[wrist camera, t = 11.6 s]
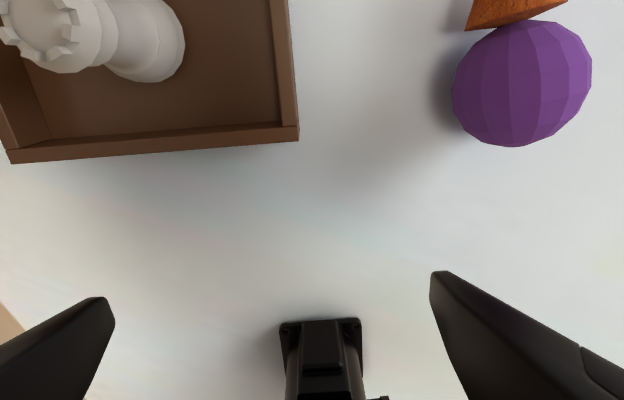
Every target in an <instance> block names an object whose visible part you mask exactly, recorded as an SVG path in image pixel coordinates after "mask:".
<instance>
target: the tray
mask: <svg viewBox="0 0 624 400" xmlns="http://www.w3.org/2000/svg"><path fill="white" fill-rule="evenodd" d="M162 1H164V2H165V3H166V4H167V5H168V6H169V7H170V8H171V9H172V10H173V11H174V13H175V15H176V17H177V19H178V20H179V22H180V24H181V26H182V30H183V35H184V41H185V49H184V55H183V60H182V63H181V64H180V66H179V67H178V69H177V70H176V71H175V73H174V74H173V75H172V76H170V77H168V78H166V79H165V80H163V81H161V82H151V83H143V82H134V81H132V80H129V79H126V78H123V77H120V76H118V75H116V74H115V73H114V72H113V71H111V70H110V69H109V68H108V67H106V66H105V65H104V64H101V65H100V66H91V67H86V68H84V69H82V70H80V71H79V72H77V73H56V72H53V71H51V70H48V69H45V68H42V67H40V66H38V65H37V64H36V63H34V62H33V61H32V60H30V59H28V58H25V57H22V56H20V55H21V51H20V50H19V48H18V47H17V46H16V45H5V44H4V42H3V41H2V40H1V38H0V140H1V142H2V144H3V146H4V149H6V150H5V151H6V154H7V156H8V158H9V160H10V163H11V164H23V163H36V162H48V161H60V160H72V159H85V158H97V157H109V156H122V155H134V154H146V153H158V152H171V151H183V150H195V149H208V148H220V147H232V146H244V145H257V144H269V143H281V142H293V141H299V132H300V128H299V117H298V106H297V95H296V84H295V73H294V62H293V51H292V41H291V30H290V19H289V8H288V0H162ZM0 27H4V24H3V21H2V18H1V15H0Z"/></svg>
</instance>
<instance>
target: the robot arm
mask: <svg viewBox="0 0 624 400" xmlns="http://www.w3.org/2000/svg"><path fill="white" fill-rule="evenodd" d="M429 300H430V305H431V308H432V311H433V314H434V316H435V319H436V322H437V325H438V328H439V331H440V334H441V337H442V340H443V342H444V345H445V348H446V351H447V354H448V356H449V359H450V361H451V363H452V365H453V368H454V370H455V372H456V374H457V376H458V378H459V380H460V382H461V384H462V386H463V389H464V391H465V393H466V395H467V397H468V399H469V400H624V369H623V368H621V367H619V366H617V365H615V364H613V363H612V362H610V361H608V360H606V359H604V358H602V357H601V356H599V355H597V354H595V353H593V352H592V351H590V350H588V349H586V348H585V347H580V346H579V344H577V343H575V342H574V341H572V340H570V339H568V338H567V337H565V336H563V335H561V334H559V333H558V332H556V331H554V330H552V329H551V328H549V327H547V326H545V325H543V324H542V323H540V322H538V321H536V320H535V319H533V318H531V317H529V316H527V315H526V314H524V313H522V312H520V311H518V310H517V309H515V308H513V307H511V306H510V305H508V304H506V303H504V302H502V301H501V300H499V299H497V298H495V297H494V296H492V295H490V294H488V293H486V292H485V291H483V290H481V289H479V288H478V287H476V286H474V285H472V284H470V283H469V282H467V281H465V280H463V279H462V278H460V277H458V276H456V275H454V274H453V273H451V272H449V271H434V272H433V273H432V274H431V279H430V292H429ZM353 324H357V325H353ZM114 328H115V318H114V316H113V313H112V311H111V308H110V305H109V303H108V301H107V299H106V298H105V297H90V298H87V299H85V300H83V301H81V302H79V303H77V304H75V305H74V306H72V307H70V308H68V309H66V310H64V311H63V312H61V313H59V314H57V315H55V316H53V317H52V318H50V319H48V320H46V321H44V322H42V323H41V324H39V325H37V326H35V327H33V328H31V329H30V330H28V331H26V332H24V333H22V334H20V335H19V336H17V337H15V338H13V339H11V340H9V341H8V342H6V343H4V344H2V345H0V400H83V398H84V396H85V394H86V392H87V390H88V388H89V386H90V384H91V382H92V380H93V378H94V376H95V373H96V371H97V369H98V366H99V364H100V362H101V359H102V357H103V354H104V352H105V350H106V347H107V345H108V343H109V340H110V338H111V336H112V333H113V331H114ZM284 329H287V330H284ZM279 335H280V341H281V348H282V354H283V361H284V368H285V374H286V390H285V400H366V396H365V391H364V385H363V380H362V378H363V362H362V326H361V321H360V320H359V319H358V318H346V319H333V320H319V321H306V322H293V323H283V324H281V325H280V328H279ZM368 400H389V397H388V396H380V398H377V399H368Z"/></svg>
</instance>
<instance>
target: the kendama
mask: <svg viewBox="0 0 624 400" xmlns="http://www.w3.org/2000/svg"><path fill="white" fill-rule="evenodd" d="M567 1H568V0H474V3H473V6H472V9H471V12H470V15H469V18H468V21H467V24H466V27H465V30H464V31H472V30H481V29H490V28H497V29H495V30H494V31H492V32H491V33H489V34H488V35H486V36H485V37H484V38H482V39H481V40H479V41H478V42H476V43H475V44H474V45H473V46H472V48H471V49H470V50H469V52H468V53H467V54H466V56H465V57H464V58H463V60H462V61H461V62H460V64H459V65H458V68H457V72H456V75H455V78H454V82H453V85H452V89H451V91H452V101H453V111H454V113H455V115H456V117H457V118H458V120H459V122H460V124H461V125H462V127H463V129H464V130H465V131H466V132H468V133H469V134H471V135H472V136H474V137H475V138H477V139H478V140H480V141H481V142H484V143H487V144H492V145H498V146H504V147H520V146H525V145H528V144H531V143H533V142H536V141H539V140H541V139H544V138H546V137H549V136H552V135H554V134H555V133H556V132H557V131H558V130H559V129H560V128H562V127H563V126H564V125H565V124H566V123H567V122H568V121H569V120H571V119H572V118H573V117H574V116H575V115H576V114H577V113H578V111H579V109H580V107H581V105H582V103H583V101H584V100H585V98H586V96H587V94H588V92H589V90H590V88H591V74H592V59H591V57H590V55H589V53H588V51H587V50H586V48H585V46H584V44H583V42H582V40H581V39H580V37H579V36H578V35H576V34H575V33H573V32H571V31H570V30H568V29H566V28H565V27H563V26H561V25H560V24H558V23H556V22H548V21H538V20H527V19H529V18H532V17H534V16H536V15H538V14H541V13H543V12H545V11H548V10H550V9H552V8H554V7H557V6H559V5H561V4H563V3H565V2H567Z"/></svg>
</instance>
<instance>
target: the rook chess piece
mask: <svg viewBox="0 0 624 400" xmlns="http://www.w3.org/2000/svg"><path fill="white" fill-rule="evenodd" d="M0 15H1V18H2V21H3V24H4V27H0V38H1V40H2V41H3V42H4V44H5V45H16V46H17V47H18V48H19V50H20V51H21V55H20V56H22V57H25V58H28V59H30V60H32V61H33V62H34V63H36V64H37V65H38V66H40V67H42V68H45V69H48V70H51V71H53V72H56V73H77V72H79V71H80V70H82V69H84V68H86V67H91V66H100V65H101V64H104V65H105V66H106V67H108V68H109V69H110V70H111V71H113V72H114V73H115V74H116V75H118V76H120V77H123V78H126V79H129V80H132V81H134V82H143V83H151V82H161V81H163V80H165V79H166V78H168V77H170V76H172V75H173V74H174V73H175V71H176V70H177V69H178V67H179V66H180V64H181V63H182V60H183V55H184V49H185V41H184V35H183V30H182V26H181V24H180V22H179V20H178V19H177V17H176V15H175V13H174V11H173V10H172V9H171V8H170V7H169V6H168V5H167V4H166V3H165V2H164V1H162V0H0Z"/></svg>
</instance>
